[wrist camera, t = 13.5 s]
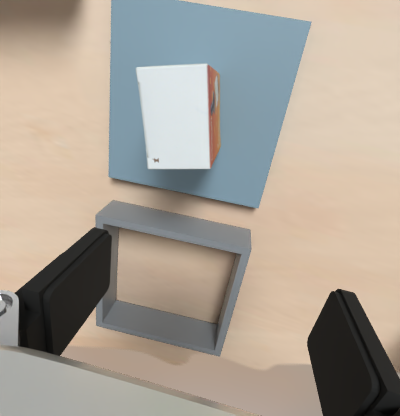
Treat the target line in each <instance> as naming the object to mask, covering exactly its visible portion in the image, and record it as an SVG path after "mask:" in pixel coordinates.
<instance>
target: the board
mask: <svg viewBox="0 0 400 416" xmlns="http://www.w3.org/2000/svg"><path fill="white" fill-rule="evenodd" d="M310 25H311V22H309V21H303V20H297V19H291V18H284V17H278V16H272V15H266V14H259V13H253V12H247V11H241V10H235V9H228V8H222V7H216V6H210V5H203V4H197V3H191V2H185V1H179V0H111V61H110V124H109V177H111V178H115V179H120V180H125V181H130V182H135V183H139V184H144V185H149V186H154V187H158V188H163V189H168V190H173V191H177V192H182V193H187V194H192V195H197V196H201V197H206V198H211V199H216V200H220V201H225V202H230V203H235V204H240V205H244V206H249V207H254V208H259V204H260V201H261V197H262V194H263V190H264V187H265V183H266V180H267V176H268V173H269V169H270V166H271V162H272V159H273V155H274V152H275V148H276V145H277V141H278V138H279V134H280V131H281V127H282V124H283V120H284V117H285V113H286V110H287V106H288V103H289V99H290V95H291V92H292V88H293V85H294V81H295V78H296V74H297V71H298V67H299V64H300V60H301V57H302V53H303V50H304V46H305V43H306V39H307V36H308V32H309V29H310ZM185 64H208V65H210V66H211V67H212V68H213V69H215V70H216V71H217V72H218V73H219V74H220V138H221V147H220V149H219V152H218V154H217V156H216V158H215V160H214V162H213V165H212V167H211V169H148V168H147V153H146V143H145V135H144V126H143V118H142V110H141V102H140V94H139V87H138V81H137V75H136V68H137V67H147V66H165V65H185Z"/></svg>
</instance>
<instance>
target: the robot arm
mask: <svg viewBox="0 0 400 416" xmlns="http://www.w3.org/2000/svg"><path fill="white" fill-rule="evenodd" d="M111 247H112V236H111V235H110V234H109V232H108V231H107V230H104V229H100V228H96V227H94V228H92V229H91V230H90V231H89V232H88V233H86V234H85V235H84V236H83V237H82V238H81V239H79V240H78V241H77V242H76V243H75V244H73V245H72V246H71V247H70V248H69V249H68V250H66V251H65V252H64V253H62V254H61V255H59V256H58V257H57V258H56V259H55V260H53V261H52V262H51V263H50V264H49V265H48V266H46V267H45V268H44V269H43V270H42V271H40V272H39V273H38V274H37V275H36V276H34V277H33V278H32V279H31V280H30V281H29V282H27V283H26V284H25V285H24V286H23V287H21V288H20V289H19V290H18V291H17V292H15V293H13V292H10V291H5V290H0V416H260V415H257V414H254V413H250V412H247V411H244V410H241V409H238V408H234V407H231V406H227V405H224V404H221V403H218V402H215V401H211V400H208V399H204V398H201V397H198V396H194V395H191V394H188V393H184V392H181V391H178V390H175V389H171V388H168V387H164V386H161V385H158V384H155V383H151V382H148V381H145V380H141V379H138V378H134V377H131V376H128V375H124V374H121V373H117V372H114V371H111V370H107V369H104V368H100V367H97V366H94V365H90V364H87V363H83V362H79V361H76V360H72V359H69V358H65V357H61V356H60V355H61V354H62V352H63V351H64V350H65V348H66V347H67V345H68V344H69V343H70V341H71V340H72V339H73V337H74V336H75V334H76V333H77V332H78V330H79V329H80V328H81V326H82V325H83V324H84V322H85V321H86V319H87V318H88V317H89V315H90V314H91V313H92V311H93V310H94V308H95V307H96V306H97V304H98V303H99V302H100V300H101V299H102V297H103V296H104V295H105V293H106V292H107V290H108V288H109V285H110V270H111ZM307 346H308V351H309V355H310V360H311V364H312V368H313V373H314V377H315V382H316V385H317V391H318V395H319V399H320V403H321V408H322V413H323V416H400V379H399V377H398V375H397V373H396V371H395V369H394V367H393V365H392V363H391V361H390V360H389V358H388V356H387V354H386V352H385V350H384V348H383V346H382V344H381V342H380V340H379V339H378V337H377V335H376V333H375V331H374V329H373V327H372V325H371V323H370V321H369V319H368V318H367V316H366V314H365V312H364V310H363V308H362V306H361V304H360V302H359V300H358V298H357V297H356V295H355V293H353V292H349V291H345V290H341V289H337V290H336V291H335V292H334V291H332V292H331V293H330V295H329V297H328V299H327V301H326V303H325V305H324V307H323V309H322V311H321V313H320V315H319V317H318V319H317V321H316V323H315V325H314V327H313V329H312V331H311V333H310V335H309V337H308V341H307Z"/></svg>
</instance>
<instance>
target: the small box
mask: <svg viewBox="0 0 400 416" xmlns="http://www.w3.org/2000/svg"><path fill="white" fill-rule="evenodd" d="M136 75H137V81H138V87H139V94H140V102H141V110H142V118H143V126H144V135H145V143H146V153H147V168H148V169H211V167H212V165H213V162H214V160H215V158H216V156H217V154H218V152H219V149H220V147H221V138H220V74H219V73H218V72H217V71H216V70H215V69H213V68H212V67H211V66H210V65H208V64H185V65H165V66H147V67H137V68H136Z"/></svg>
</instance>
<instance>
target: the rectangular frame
mask: <svg viewBox="0 0 400 416" xmlns="http://www.w3.org/2000/svg"><path fill="white" fill-rule="evenodd" d="M119 227H121V228H126V229H130V230H135V231H139V232H144V233H148V234H153V235H157V236H162V237H166V238H171V239H175V240H180V241H184V242H189V243H193V244H198V245H202V246H207V247H211V248H216V249H220V250H225V251H229V252H234V253H237V254H236V257H235V261H234V265H233V269H232V272H231V276H230V280H229V284H228V287H227V291H226V295H225V298H224V302H223V306H222V310H221V313H220V317H219V321H218V324H214V323H209V322H205V321H201V320H197V319H193V318H189V317H185V316H180V315H176V314H172V313H168V312H164V311H160V310H155V309H151V308H147V307H143V306H139V305H135V304H131V303H126V302H122V301H118V300H116V289H117V262H118V234H119ZM96 228H100V229H104V230H107V231H108V232H109V234H110V235H111V236H112V247H111V270H110V285H109V288H108V290H107V292H106V293H105V295H104V296H103V297H102V299H101V300H100V302H99V303H98V304H97V306H96V326H99V327H103V328H107V329H111V330H115V331H119V332H123V333H127V334H131V335H135V336H139V337H143V338H147V339H151V340H155V341H159V342H163V343H167V344H171V345H175V346H179V347H183V348H187V349H192V350H196V351H200V352H204V353H208V354H212V355H216V356H220V354H221V351H222V348H223V344H224V341H225V337H226V334H227V331H228V327H229V324H230V320H231V317H232V314H233V310H234V307H235V303H236V300H237V297H238V293H239V290H240V286H241V283H242V280H243V276H244V273H245V269H246V266H247V263H248V259H249V256H250V252H251V231H250V230H249V229H245V228H240V227H236V226H231V225H226V224H222V223H217V222H212V221H208V220H203V219H198V218H194V217H189V216H184V215H180V214H175V213H171V212H166V211H161V210H157V209H152V208H147V207H143V206H138V205H133V204H129V203H124V202H119V201H115V200H113V201H111V202H110V203H109V204H108V205H107V206H106V207H104V208H103V209H102V210H101V211H100V212H98V213H97V214H96Z"/></svg>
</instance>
